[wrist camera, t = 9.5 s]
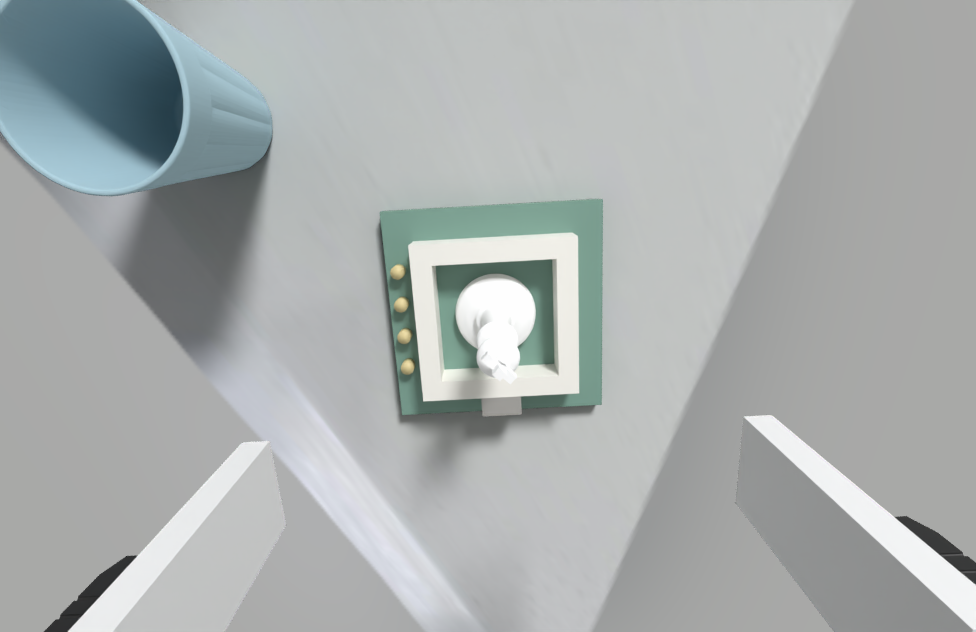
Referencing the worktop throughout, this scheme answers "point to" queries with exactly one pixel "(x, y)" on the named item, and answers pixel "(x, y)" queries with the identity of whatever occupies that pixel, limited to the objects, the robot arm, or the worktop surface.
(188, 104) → the cup
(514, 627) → the worktop surface
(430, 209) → the header board
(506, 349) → the chess piece
